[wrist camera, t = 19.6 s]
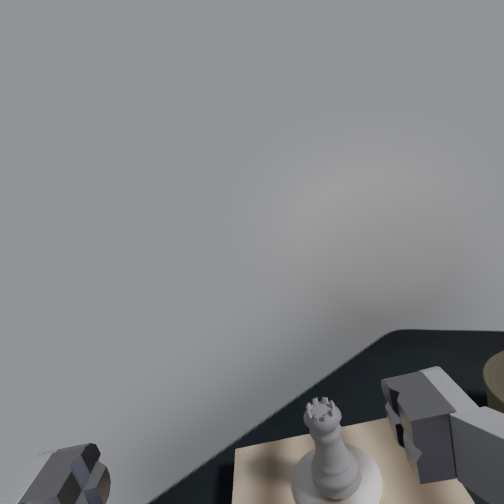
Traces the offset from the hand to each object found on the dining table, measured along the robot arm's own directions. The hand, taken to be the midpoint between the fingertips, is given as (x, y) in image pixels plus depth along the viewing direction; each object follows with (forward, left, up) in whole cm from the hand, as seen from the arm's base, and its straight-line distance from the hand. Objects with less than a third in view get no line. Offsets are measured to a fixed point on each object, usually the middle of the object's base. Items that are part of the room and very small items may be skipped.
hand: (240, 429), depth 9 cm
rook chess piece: (+3, +17, -22) cm, 28 cm away
